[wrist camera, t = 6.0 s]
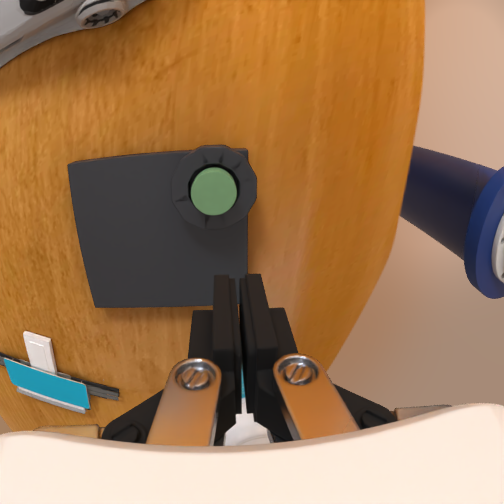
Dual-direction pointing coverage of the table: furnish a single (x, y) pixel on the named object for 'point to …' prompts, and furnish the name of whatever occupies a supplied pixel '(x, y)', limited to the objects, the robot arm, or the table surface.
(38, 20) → the car model
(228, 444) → the pill bottle
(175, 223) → the scale
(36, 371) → the blue paper trimmer
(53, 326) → the table surface
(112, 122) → the table surface
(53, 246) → the table surface
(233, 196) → the button
